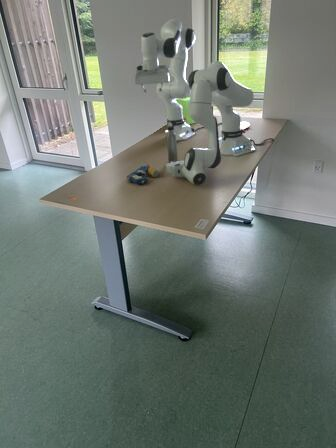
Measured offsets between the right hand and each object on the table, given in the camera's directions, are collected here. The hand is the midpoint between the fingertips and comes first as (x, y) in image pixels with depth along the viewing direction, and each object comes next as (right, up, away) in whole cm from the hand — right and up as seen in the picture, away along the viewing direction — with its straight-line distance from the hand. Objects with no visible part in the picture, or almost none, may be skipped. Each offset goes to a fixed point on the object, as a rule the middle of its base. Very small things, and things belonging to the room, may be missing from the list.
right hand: (179, 160), depth 193 cm
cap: (-5, +20, 0) cm, 20 cm away
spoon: (+48, +33, +57) cm, 82 cm away
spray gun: (-20, -10, -4) cm, 23 cm away
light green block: (+12, +53, +96) cm, 110 cm away
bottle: (-3, +1, +12) cm, 12 cm away
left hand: (-15, +41, +3) cm, 44 cm away
